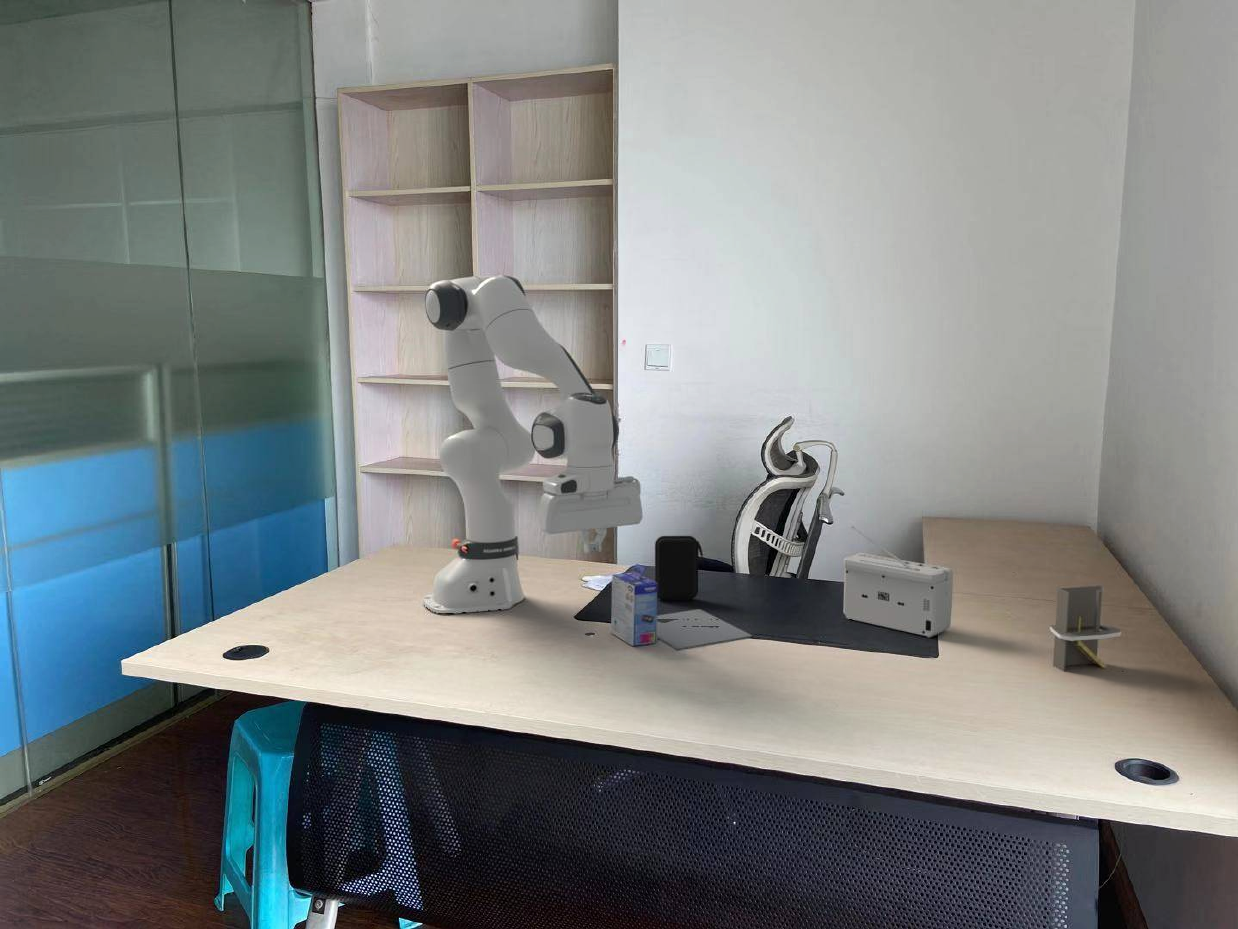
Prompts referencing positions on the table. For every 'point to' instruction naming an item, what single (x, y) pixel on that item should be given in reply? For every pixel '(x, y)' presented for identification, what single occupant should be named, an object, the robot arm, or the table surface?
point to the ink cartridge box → (634, 608)
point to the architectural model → (1079, 626)
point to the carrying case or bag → (677, 567)
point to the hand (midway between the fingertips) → (592, 552)
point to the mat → (695, 630)
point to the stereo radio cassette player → (897, 593)
